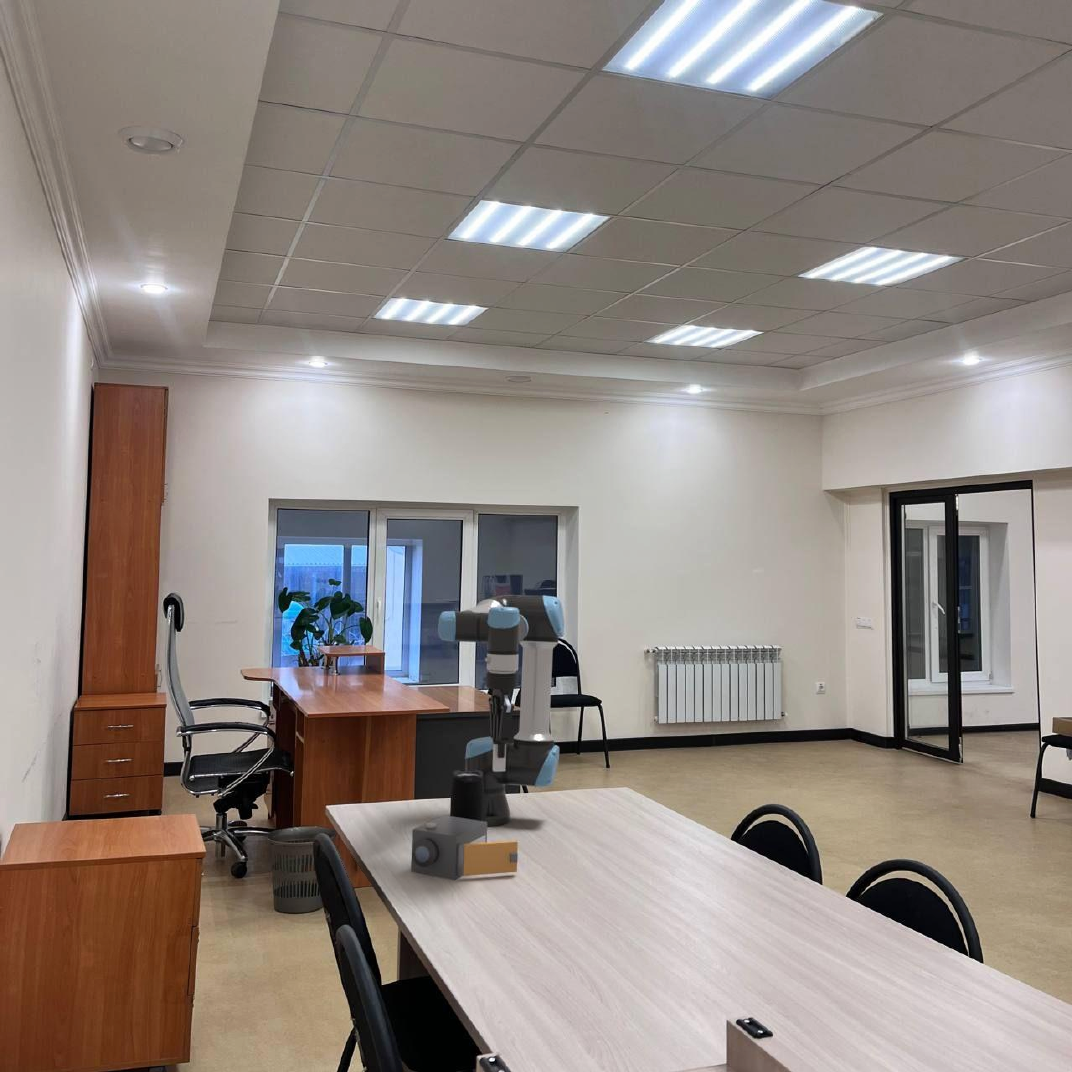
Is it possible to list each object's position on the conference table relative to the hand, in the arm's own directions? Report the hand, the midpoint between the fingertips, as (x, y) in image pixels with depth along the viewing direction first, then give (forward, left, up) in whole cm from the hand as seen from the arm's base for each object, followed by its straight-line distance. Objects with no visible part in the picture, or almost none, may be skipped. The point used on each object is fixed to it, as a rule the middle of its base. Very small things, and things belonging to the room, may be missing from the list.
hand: (498, 770), depth 231 cm
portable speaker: (-13, -15, -24) cm, 31 cm away
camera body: (+4, -11, -24) cm, 27 cm away
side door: (+5, 0, -23) cm, 24 cm away
